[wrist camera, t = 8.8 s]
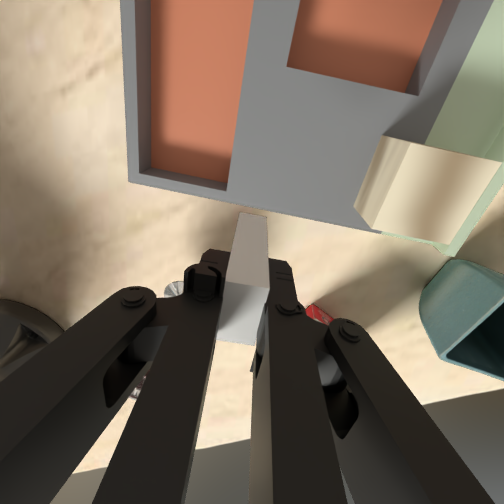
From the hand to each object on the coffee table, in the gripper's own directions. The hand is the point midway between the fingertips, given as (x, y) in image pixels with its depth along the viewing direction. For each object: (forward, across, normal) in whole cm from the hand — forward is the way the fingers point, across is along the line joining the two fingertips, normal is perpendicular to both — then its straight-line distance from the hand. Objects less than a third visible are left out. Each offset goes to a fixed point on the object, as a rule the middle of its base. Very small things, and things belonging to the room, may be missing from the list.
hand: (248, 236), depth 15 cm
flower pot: (+12, -25, +7) cm, 28 cm away
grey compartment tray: (+13, -4, -8) cm, 16 cm away
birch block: (+9, -12, -3) cm, 16 cm away
